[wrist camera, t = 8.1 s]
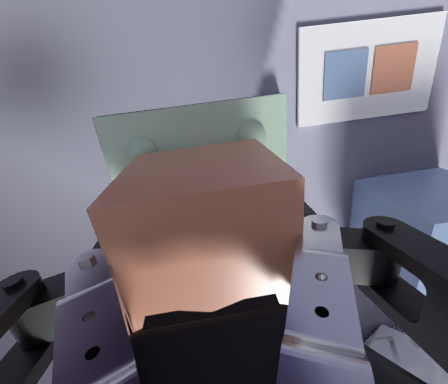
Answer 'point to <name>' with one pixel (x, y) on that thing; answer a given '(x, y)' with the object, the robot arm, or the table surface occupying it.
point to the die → (406, 354)
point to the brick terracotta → (200, 227)
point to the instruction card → (367, 67)
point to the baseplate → (193, 128)
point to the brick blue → (405, 204)
